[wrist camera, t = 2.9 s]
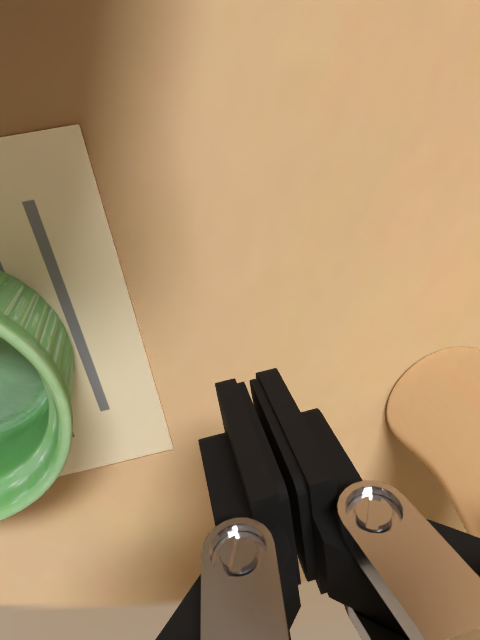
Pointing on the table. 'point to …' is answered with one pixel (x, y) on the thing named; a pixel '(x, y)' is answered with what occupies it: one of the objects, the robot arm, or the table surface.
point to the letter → (80, 293)
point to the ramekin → (32, 396)
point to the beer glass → (444, 424)
